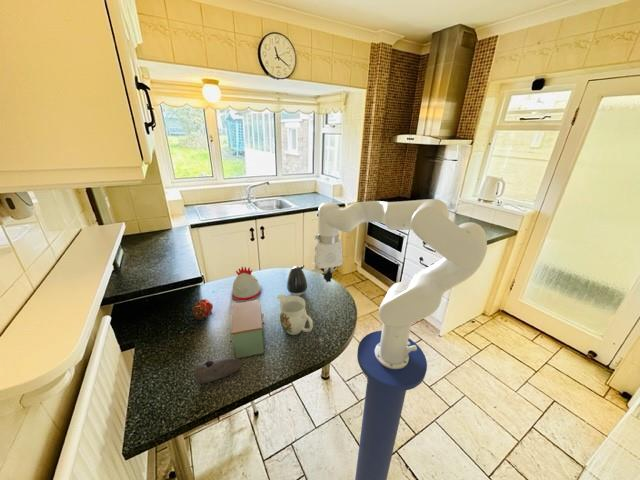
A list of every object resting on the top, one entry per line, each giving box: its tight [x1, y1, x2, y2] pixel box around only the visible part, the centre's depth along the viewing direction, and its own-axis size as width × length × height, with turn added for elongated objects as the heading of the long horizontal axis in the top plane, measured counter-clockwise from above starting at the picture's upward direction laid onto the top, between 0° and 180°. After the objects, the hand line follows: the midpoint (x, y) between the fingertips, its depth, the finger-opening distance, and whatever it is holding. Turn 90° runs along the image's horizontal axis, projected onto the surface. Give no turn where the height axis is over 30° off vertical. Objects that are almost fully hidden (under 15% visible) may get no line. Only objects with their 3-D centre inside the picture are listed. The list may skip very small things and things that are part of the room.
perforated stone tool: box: [192, 357, 243, 385], centre depth 86 cm, size 15×5×7 cm, turn 110°
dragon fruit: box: [191, 298, 214, 321], centre depth 114 cm, size 8×8×12 cm
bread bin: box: [230, 299, 266, 359], centre depth 100 cm, size 12×17×13 cm
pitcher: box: [277, 294, 314, 336], centre depth 104 cm, size 11×18×14 cm, turn 53°
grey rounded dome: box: [231, 266, 262, 302], centre depth 128 cm, size 14×14×15 cm
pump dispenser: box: [286, 264, 308, 297], centre depth 128 cm, size 10×10×15 cm
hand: (327, 280), depth 100 cm, fingers closed
